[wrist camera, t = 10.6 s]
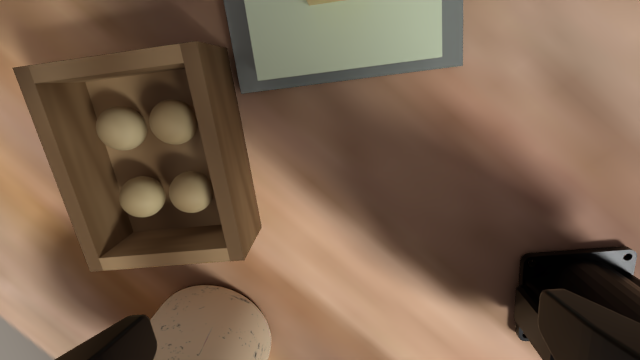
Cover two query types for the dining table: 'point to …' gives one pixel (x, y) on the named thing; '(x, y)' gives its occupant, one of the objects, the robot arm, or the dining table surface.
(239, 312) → the teacup with lid
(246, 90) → the coaster
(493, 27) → the dining table surface
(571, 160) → the dining table surface
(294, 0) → the lid
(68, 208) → the box
